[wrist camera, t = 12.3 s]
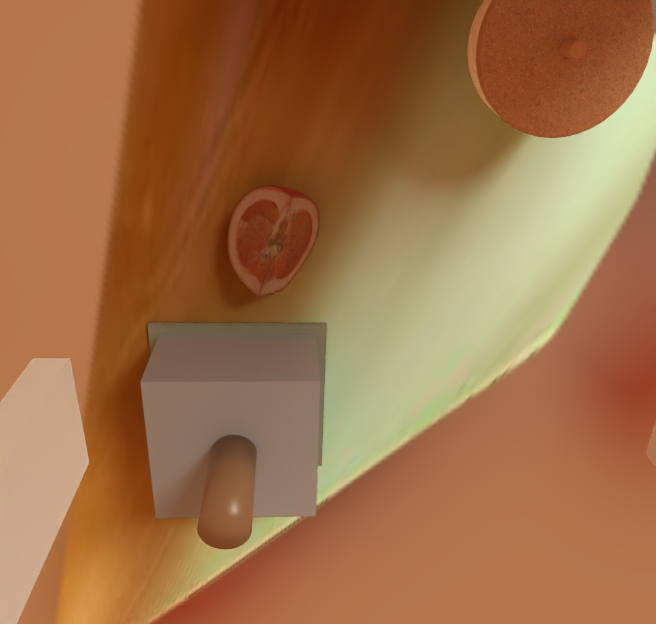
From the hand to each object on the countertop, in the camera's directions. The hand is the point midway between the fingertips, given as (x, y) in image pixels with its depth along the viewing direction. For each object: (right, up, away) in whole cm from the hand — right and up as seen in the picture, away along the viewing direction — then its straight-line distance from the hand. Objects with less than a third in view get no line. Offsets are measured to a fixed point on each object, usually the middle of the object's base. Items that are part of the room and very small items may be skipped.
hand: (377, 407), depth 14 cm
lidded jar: (+13, +22, +31) cm, 40 cm away
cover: (-9, -6, +42) cm, 43 cm away
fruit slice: (-5, +9, +36) cm, 37 cm away
